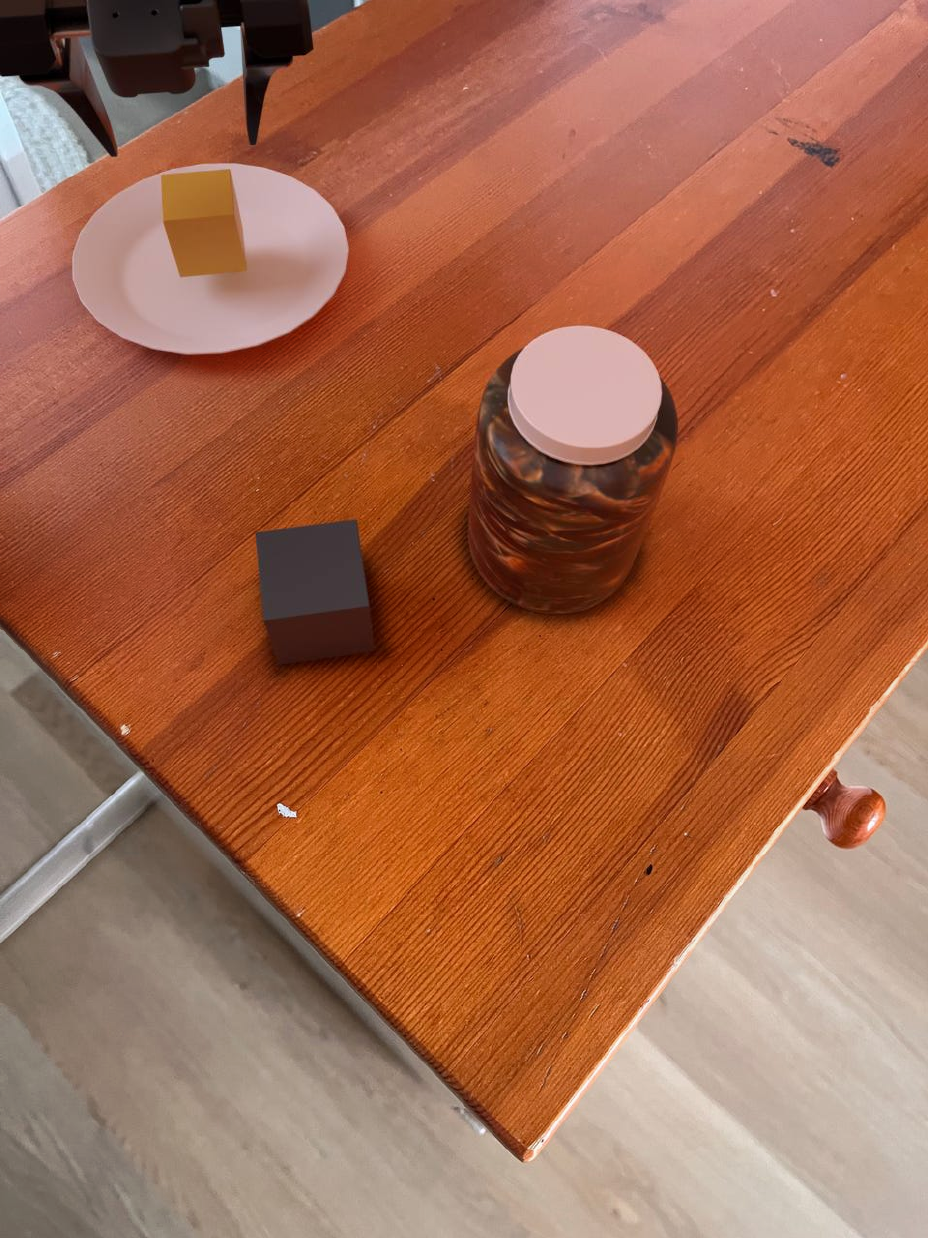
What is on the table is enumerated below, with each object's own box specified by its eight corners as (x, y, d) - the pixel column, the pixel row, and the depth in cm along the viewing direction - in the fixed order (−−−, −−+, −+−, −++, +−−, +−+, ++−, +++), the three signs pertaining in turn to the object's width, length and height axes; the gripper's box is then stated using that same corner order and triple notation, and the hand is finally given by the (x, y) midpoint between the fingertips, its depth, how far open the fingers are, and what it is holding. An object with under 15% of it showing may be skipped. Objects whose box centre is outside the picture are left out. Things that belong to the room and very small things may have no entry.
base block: (278, 665, 56) (263, 620, 50) (270, 582, 58) (255, 531, 53) (375, 651, 56) (369, 605, 51) (362, 570, 59) (356, 518, 54)
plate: (170, 420, 64) (162, 398, 62) (34, 254, 71) (23, 230, 69) (403, 294, 71) (402, 271, 69) (257, 154, 78) (252, 130, 76)
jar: (673, 563, 60) (742, 415, 47) (529, 644, 57) (560, 510, 44) (571, 442, 65) (608, 275, 51) (432, 511, 61) (434, 352, 48)
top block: (179, 277, 68) (162, 220, 63) (177, 232, 70) (160, 174, 66) (247, 271, 68) (234, 214, 64) (242, 226, 70) (230, 168, 66)
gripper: (-89, -33, 43) (38, 242, 56) (306, -56, 45) (335, 214, 59) (-69, -149, 48) (43, 129, 61) (286, -164, 50) (317, 108, 64)
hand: (184, 147), depth 61 cm, fingers open, 9 cm apart
